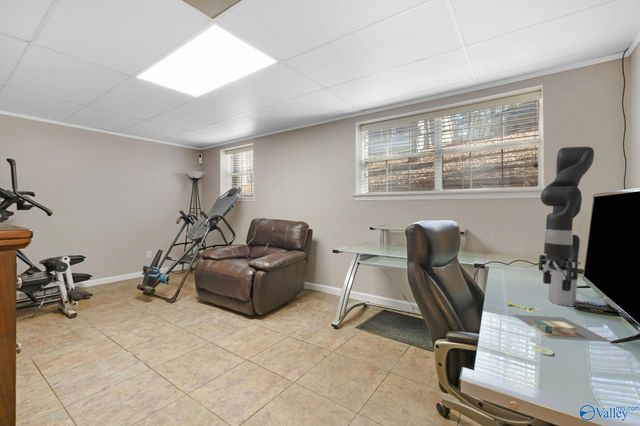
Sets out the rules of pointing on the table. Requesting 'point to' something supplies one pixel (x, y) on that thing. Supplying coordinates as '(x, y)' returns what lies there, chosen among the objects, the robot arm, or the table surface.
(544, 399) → the table surface
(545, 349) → the sign
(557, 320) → the mat
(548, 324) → the tile
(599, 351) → the table surface
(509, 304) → the key
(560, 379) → the table surface
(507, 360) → the table surface
